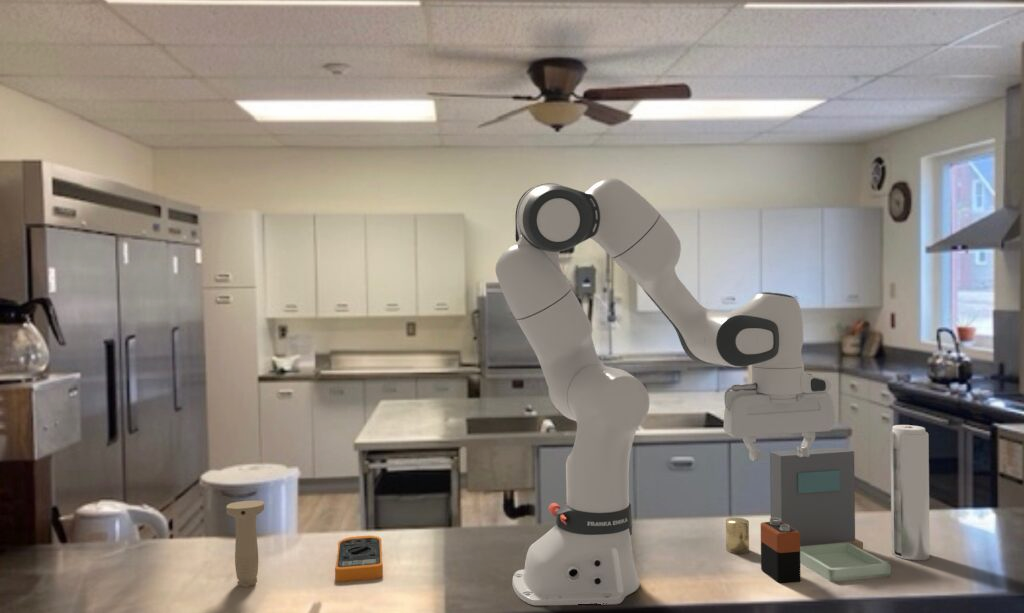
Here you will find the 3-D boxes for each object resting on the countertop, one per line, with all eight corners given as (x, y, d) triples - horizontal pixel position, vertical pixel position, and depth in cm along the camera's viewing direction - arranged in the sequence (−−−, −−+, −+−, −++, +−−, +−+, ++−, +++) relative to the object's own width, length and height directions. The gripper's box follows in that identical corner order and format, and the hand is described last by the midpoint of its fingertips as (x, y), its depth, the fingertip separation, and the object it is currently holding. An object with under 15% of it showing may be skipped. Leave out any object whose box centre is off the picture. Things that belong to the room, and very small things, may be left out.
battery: (781, 568, 136) (781, 515, 136) (801, 583, 130) (801, 527, 129) (760, 570, 136) (759, 517, 136) (778, 585, 129) (778, 528, 129)
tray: (830, 582, 130) (830, 570, 130) (792, 558, 141) (792, 547, 141) (890, 576, 132) (890, 564, 132) (848, 553, 144) (848, 542, 144)
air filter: (934, 561, 138) (933, 430, 138) (897, 559, 140) (896, 429, 139) (922, 549, 145) (921, 423, 144) (887, 548, 146) (886, 423, 146)
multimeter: (381, 549, 152) (381, 533, 152) (383, 583, 134) (382, 564, 134) (339, 553, 150) (338, 536, 150) (335, 587, 133) (334, 568, 133)
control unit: (780, 557, 142) (778, 457, 142) (763, 547, 148) (762, 451, 147) (863, 549, 145) (861, 452, 145) (843, 540, 151) (842, 445, 151)
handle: (263, 590, 131) (261, 507, 131) (226, 593, 130) (223, 509, 130) (267, 580, 136) (265, 499, 135) (231, 583, 135) (229, 502, 134)
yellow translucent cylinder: (732, 555, 144) (732, 525, 144) (722, 548, 148) (721, 518, 148) (753, 553, 144) (752, 523, 144) (742, 546, 149) (741, 516, 149)
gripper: (732, 387, 127) (734, 466, 127) (839, 381, 131) (840, 458, 131) (716, 383, 133) (718, 458, 134) (818, 377, 137) (819, 450, 137)
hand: (779, 458), depth 132 cm, fingers open, 8 cm apart
